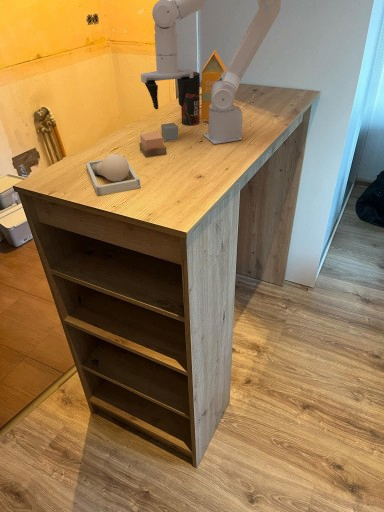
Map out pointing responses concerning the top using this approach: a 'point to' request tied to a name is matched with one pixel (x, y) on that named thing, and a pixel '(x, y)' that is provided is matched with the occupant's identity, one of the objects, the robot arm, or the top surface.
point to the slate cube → (170, 132)
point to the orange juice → (210, 81)
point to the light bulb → (112, 168)
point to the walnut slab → (153, 151)
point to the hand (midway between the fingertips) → (168, 106)
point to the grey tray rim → (114, 186)
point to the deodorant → (192, 102)
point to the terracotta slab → (151, 140)
